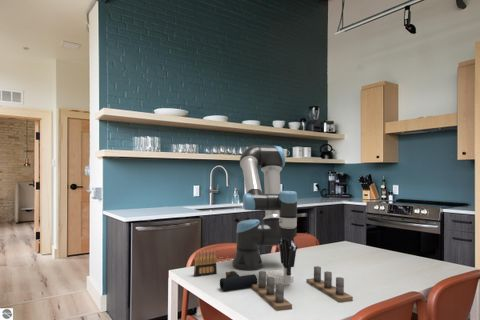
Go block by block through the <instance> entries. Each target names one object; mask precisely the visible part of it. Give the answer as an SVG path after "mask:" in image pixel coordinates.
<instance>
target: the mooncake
mask: <svg viewBox="0 0 480 320" xmlns="http://www.w3.org/2000/svg"><path fill="white" fill-rule="evenodd" d="M267 277H274V285H276V284H277V283H281V284H284V286H286V285H292V284H294V279H295V275H294V273H293V272H291V282H290V283H284V269H273V270H269V271H267V272H266V278H267Z"/></svg>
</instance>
